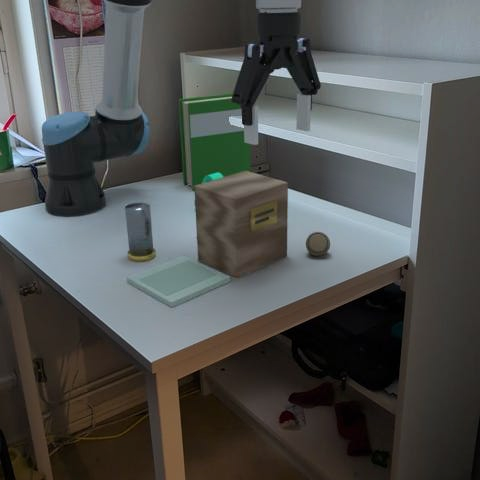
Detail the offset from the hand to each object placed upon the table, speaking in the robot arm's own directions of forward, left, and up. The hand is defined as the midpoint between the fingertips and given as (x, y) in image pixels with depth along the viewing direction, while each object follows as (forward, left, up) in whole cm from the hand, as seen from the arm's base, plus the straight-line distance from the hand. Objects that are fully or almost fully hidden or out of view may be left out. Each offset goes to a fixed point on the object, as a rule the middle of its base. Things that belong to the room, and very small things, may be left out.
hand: (278, 136), depth 109 cm
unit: (-9, -1, -27) cm, 28 cm away
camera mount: (-33, +15, -27) cm, 45 cm away
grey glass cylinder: (-25, -15, -27) cm, 40 cm away
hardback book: (-51, +29, -27) cm, 65 cm away
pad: (-10, -17, -27) cm, 33 cm away
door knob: (+1, +11, -27) cm, 29 cm away
